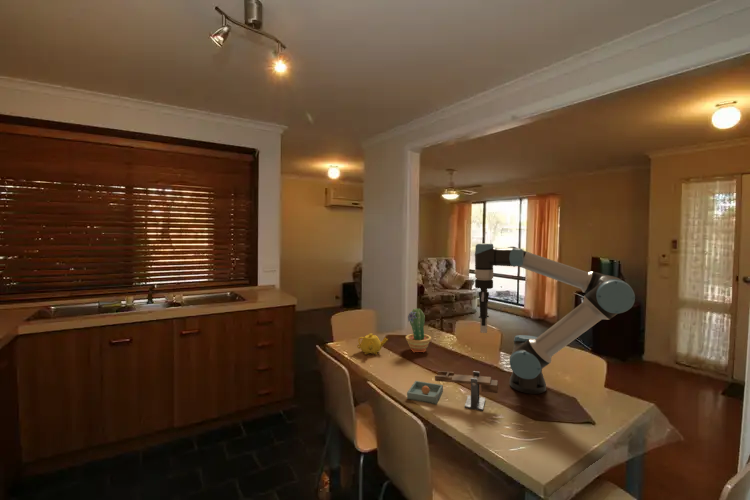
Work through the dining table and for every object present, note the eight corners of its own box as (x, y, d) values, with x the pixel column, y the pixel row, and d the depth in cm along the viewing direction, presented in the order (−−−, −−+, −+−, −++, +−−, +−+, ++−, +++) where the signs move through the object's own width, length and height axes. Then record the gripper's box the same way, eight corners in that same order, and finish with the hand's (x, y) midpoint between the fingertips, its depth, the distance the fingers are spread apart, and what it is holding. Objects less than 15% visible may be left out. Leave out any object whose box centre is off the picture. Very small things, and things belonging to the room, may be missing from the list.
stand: (485, 399, 146) (485, 371, 145) (482, 411, 136) (482, 381, 136) (468, 396, 148) (468, 369, 148) (464, 407, 139) (464, 378, 138)
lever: (498, 387, 141) (497, 374, 141) (497, 393, 136) (496, 380, 136) (438, 382, 151) (437, 370, 151) (435, 388, 145) (434, 375, 145)
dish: (442, 391, 154) (442, 385, 154) (436, 404, 142) (436, 397, 142) (415, 386, 159) (415, 380, 159) (407, 398, 147) (407, 392, 147)
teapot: (370, 358, 195) (370, 339, 194) (354, 352, 204) (354, 334, 204) (388, 352, 205) (388, 333, 204) (372, 347, 214) (372, 329, 214)
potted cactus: (403, 346, 215) (403, 306, 213) (427, 345, 216) (427, 305, 215) (408, 355, 199) (408, 312, 198) (434, 354, 201) (434, 311, 200)
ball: (425, 393, 152) (432, 390, 151) (423, 397, 149) (430, 393, 148) (421, 386, 153) (427, 382, 152) (419, 390, 150) (425, 386, 148)
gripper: (476, 276, 158) (476, 327, 160) (473, 280, 146) (473, 335, 148) (494, 277, 156) (493, 329, 157) (491, 281, 144) (491, 337, 145)
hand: (483, 332), depth 152 cm, fingers closed
